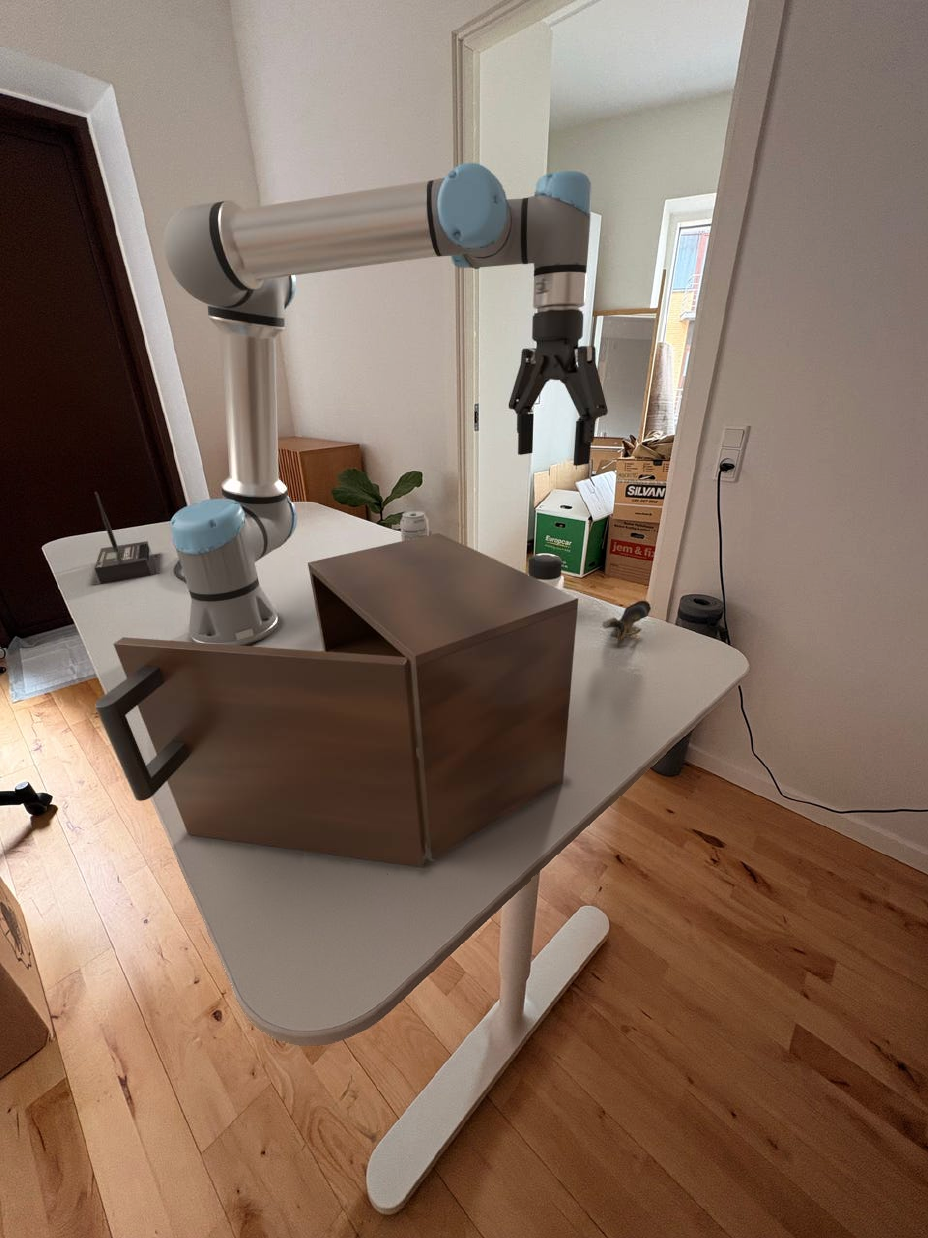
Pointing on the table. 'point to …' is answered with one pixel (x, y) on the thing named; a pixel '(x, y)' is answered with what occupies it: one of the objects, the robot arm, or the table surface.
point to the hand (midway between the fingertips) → (551, 458)
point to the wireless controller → (123, 559)
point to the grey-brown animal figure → (628, 621)
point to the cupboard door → (275, 745)
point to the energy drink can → (414, 525)
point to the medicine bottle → (547, 569)
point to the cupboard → (461, 670)
